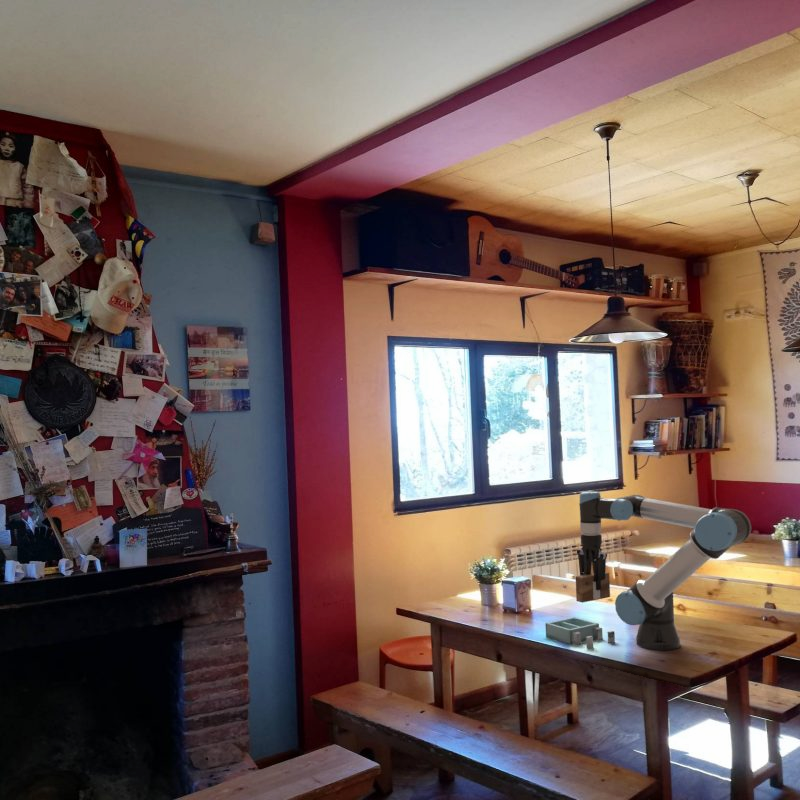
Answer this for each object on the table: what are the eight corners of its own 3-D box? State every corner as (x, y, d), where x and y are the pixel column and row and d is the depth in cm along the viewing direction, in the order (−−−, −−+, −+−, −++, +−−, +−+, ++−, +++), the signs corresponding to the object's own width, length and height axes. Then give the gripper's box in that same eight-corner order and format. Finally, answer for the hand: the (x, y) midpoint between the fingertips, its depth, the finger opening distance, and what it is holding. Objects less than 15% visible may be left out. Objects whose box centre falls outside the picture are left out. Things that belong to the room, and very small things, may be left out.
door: (611, 597, 293) (611, 573, 293) (584, 603, 286) (583, 578, 286) (604, 595, 296) (603, 571, 296) (576, 601, 289) (575, 576, 289)
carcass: (599, 637, 298) (598, 623, 299) (570, 643, 290) (569, 630, 291) (574, 629, 309) (574, 617, 310) (545, 636, 301) (545, 623, 302)
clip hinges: (614, 642, 291) (614, 631, 291) (588, 648, 284) (588, 637, 284) (597, 637, 298) (597, 626, 298) (571, 643, 291) (571, 632, 291)
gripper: (614, 535, 287) (616, 600, 286) (582, 530, 301) (584, 592, 300) (599, 537, 283) (601, 603, 282) (568, 532, 297) (570, 595, 296)
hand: (593, 597), depth 291 cm, fingers closed on door, 3 cm apart
